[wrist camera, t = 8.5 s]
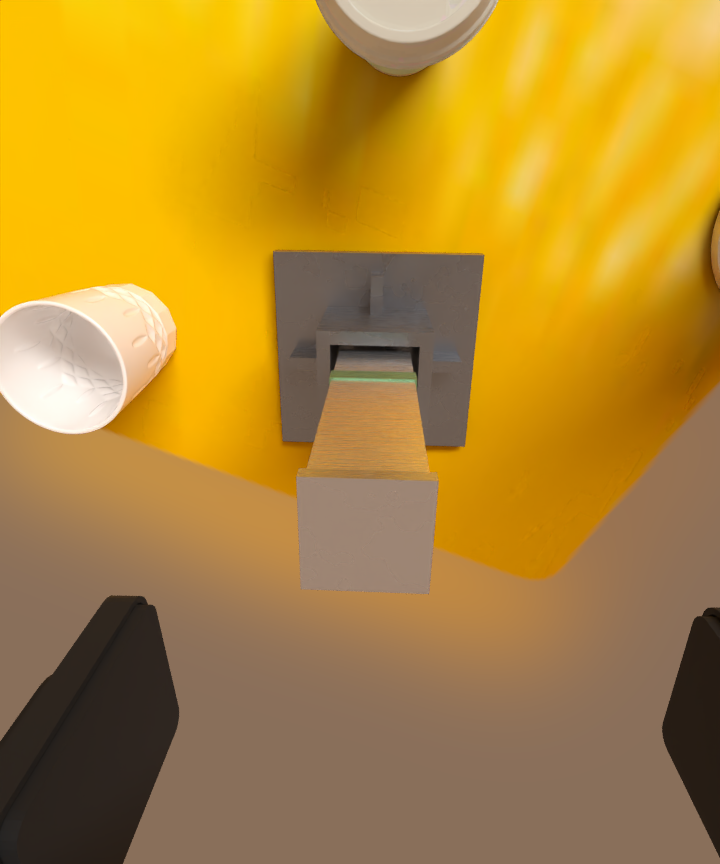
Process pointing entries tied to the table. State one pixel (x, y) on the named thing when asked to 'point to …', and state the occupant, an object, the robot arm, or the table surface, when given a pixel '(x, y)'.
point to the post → (368, 482)
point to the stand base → (377, 329)
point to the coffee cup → (405, 29)
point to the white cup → (83, 354)
